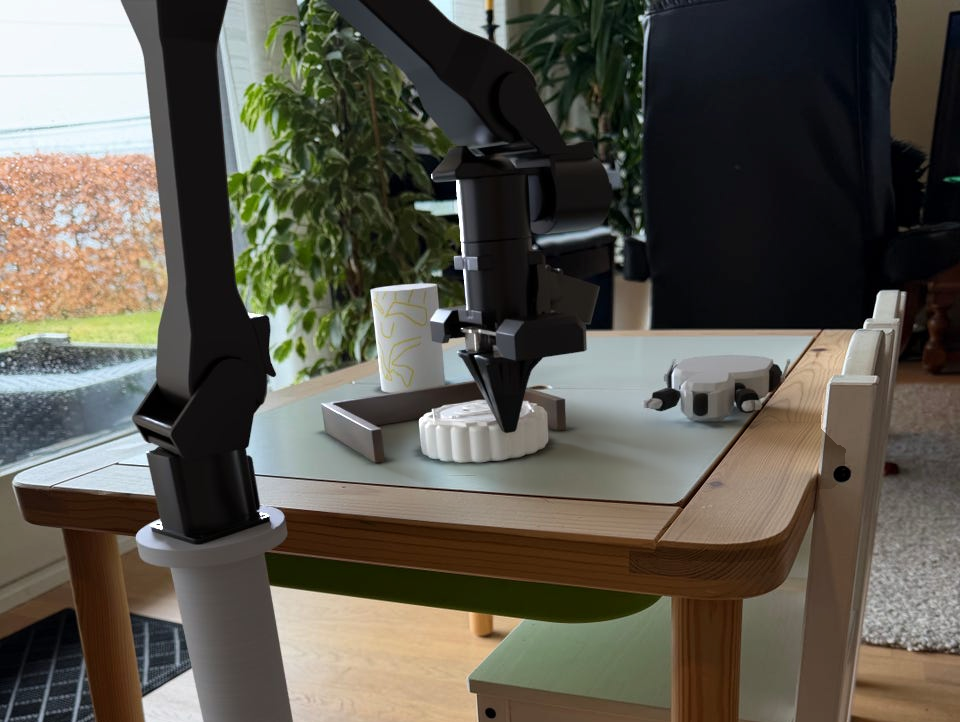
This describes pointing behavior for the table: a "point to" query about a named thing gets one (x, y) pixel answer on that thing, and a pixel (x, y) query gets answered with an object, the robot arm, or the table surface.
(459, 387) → the frame
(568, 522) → the table surface
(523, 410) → the mooncake
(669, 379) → the robot toy
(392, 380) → the cup
